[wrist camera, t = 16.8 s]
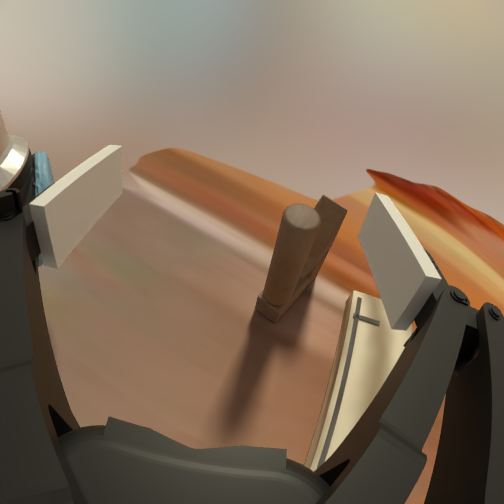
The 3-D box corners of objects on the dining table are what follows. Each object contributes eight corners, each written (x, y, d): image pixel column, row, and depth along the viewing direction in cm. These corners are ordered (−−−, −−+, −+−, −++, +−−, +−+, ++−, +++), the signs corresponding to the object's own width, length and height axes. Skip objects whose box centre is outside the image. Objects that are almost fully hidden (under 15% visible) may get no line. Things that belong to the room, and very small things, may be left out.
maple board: (289, 505, 25) (295, 510, 22) (346, 300, 43) (354, 289, 40) (363, 515, 24) (374, 518, 21) (403, 318, 42) (413, 309, 39)
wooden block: (317, 275, 45) (359, 185, 31) (274, 325, 40) (308, 239, 25) (298, 261, 46) (331, 168, 32) (253, 308, 41) (274, 216, 27)
